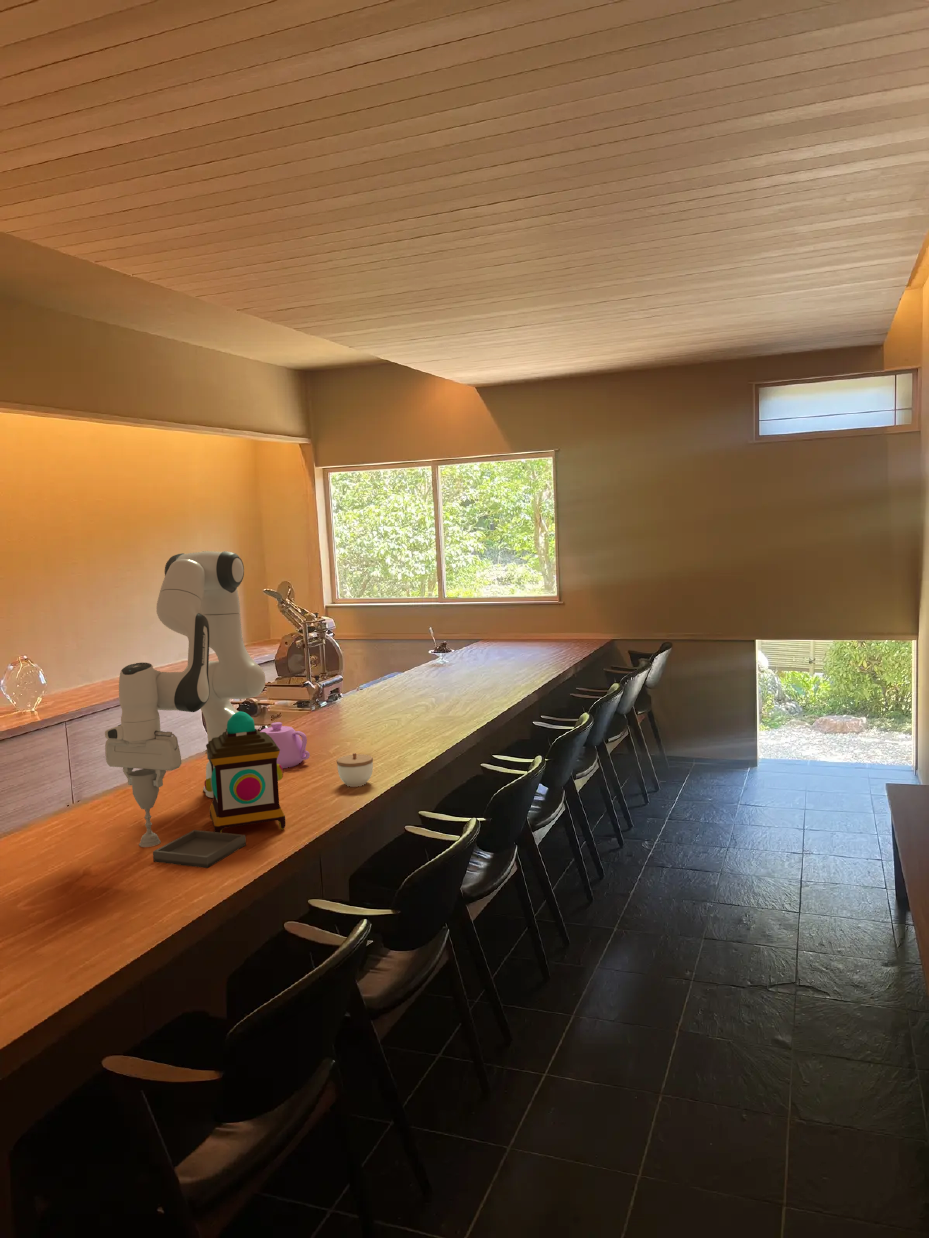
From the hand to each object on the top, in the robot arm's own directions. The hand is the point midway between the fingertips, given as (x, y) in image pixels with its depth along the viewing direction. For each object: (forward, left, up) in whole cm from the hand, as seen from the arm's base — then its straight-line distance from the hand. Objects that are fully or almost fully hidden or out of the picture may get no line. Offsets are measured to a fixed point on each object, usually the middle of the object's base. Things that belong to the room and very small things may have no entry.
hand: (145, 785), depth 211 cm
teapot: (-74, -11, -15) cm, 76 cm away
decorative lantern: (-18, +16, -15) cm, 28 cm away
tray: (+3, +17, -15) cm, 23 cm away
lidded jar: (-58, +27, -15) cm, 66 cm away
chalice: (0, 0, -15) cm, 15 cm away
